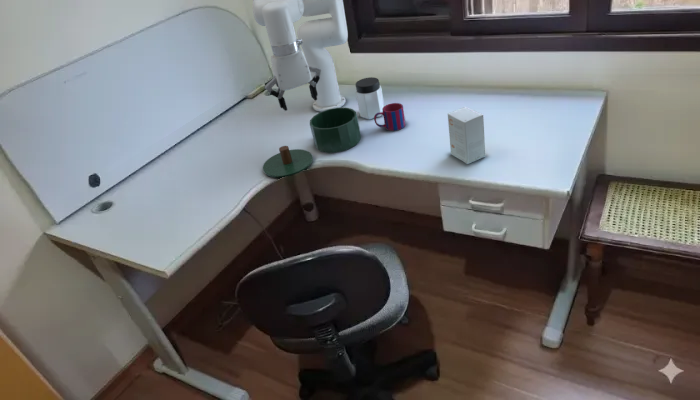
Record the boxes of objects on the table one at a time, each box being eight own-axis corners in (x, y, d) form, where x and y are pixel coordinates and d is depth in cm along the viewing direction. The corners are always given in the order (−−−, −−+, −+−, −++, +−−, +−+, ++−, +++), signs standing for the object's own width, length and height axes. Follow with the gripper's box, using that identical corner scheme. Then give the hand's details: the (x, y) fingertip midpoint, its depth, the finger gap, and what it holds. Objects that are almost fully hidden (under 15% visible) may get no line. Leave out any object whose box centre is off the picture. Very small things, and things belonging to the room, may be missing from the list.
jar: (389, 111, 182) (384, 79, 175) (372, 121, 178) (366, 88, 171) (372, 106, 188) (367, 75, 181) (355, 115, 184) (349, 84, 178)
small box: (486, 156, 145) (484, 114, 138) (467, 164, 144) (464, 122, 137) (468, 146, 152) (465, 105, 145) (450, 154, 150) (446, 113, 143)
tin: (316, 135, 177) (310, 112, 173) (360, 127, 176) (355, 104, 171) (314, 156, 165) (308, 132, 160) (361, 148, 163) (357, 123, 159)
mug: (407, 127, 169) (405, 108, 165) (378, 135, 169) (374, 116, 165) (402, 119, 175) (400, 101, 171) (374, 126, 174) (370, 108, 170)
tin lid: (266, 157, 170) (261, 140, 167) (314, 148, 169) (310, 132, 165) (260, 182, 157) (255, 165, 153) (312, 173, 156) (307, 156, 152)
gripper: (309, 36, 151) (321, 91, 160) (253, 54, 147) (269, 109, 156) (318, 42, 145) (330, 98, 154) (260, 60, 141) (276, 117, 150)
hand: (299, 103), depth 155 cm, fingers open, 9 cm apart
